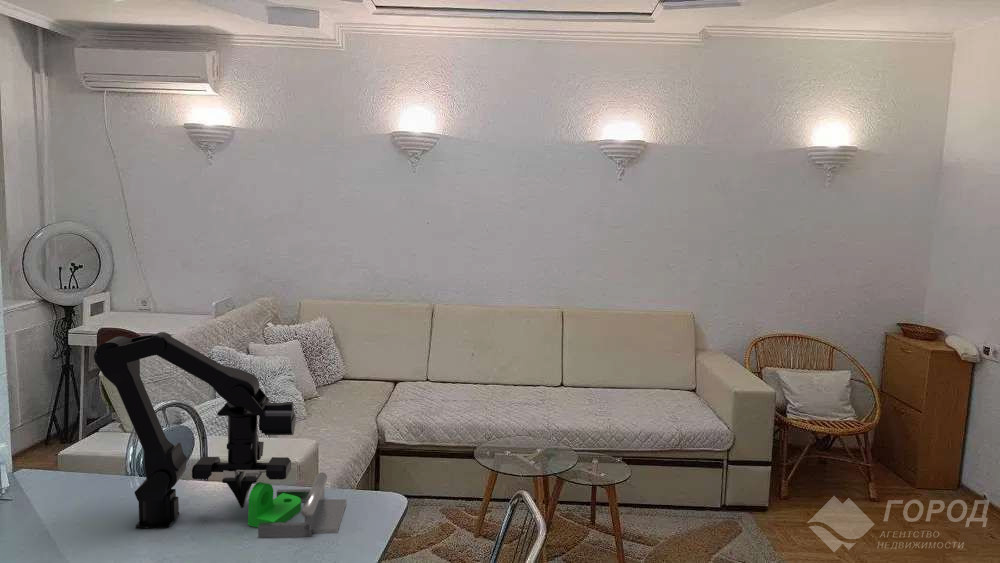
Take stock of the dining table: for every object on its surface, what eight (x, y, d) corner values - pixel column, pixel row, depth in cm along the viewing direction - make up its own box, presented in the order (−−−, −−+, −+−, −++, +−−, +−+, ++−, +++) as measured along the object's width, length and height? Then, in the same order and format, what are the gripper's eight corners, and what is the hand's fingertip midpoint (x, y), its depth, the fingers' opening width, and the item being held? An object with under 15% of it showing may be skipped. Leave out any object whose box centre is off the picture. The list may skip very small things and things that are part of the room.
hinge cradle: (258, 537, 138) (257, 506, 137) (277, 500, 155) (277, 472, 154) (336, 536, 140) (336, 506, 139) (347, 499, 156) (347, 472, 156)
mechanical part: (273, 531, 141) (274, 493, 140) (247, 525, 143) (248, 488, 142) (306, 507, 152) (307, 472, 151) (282, 501, 154) (283, 467, 153)
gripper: (296, 423, 153) (296, 491, 155) (208, 422, 151) (209, 491, 153) (285, 440, 142) (285, 513, 144) (190, 439, 140) (191, 513, 142)
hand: (242, 507), depth 146 cm, fingers closed
